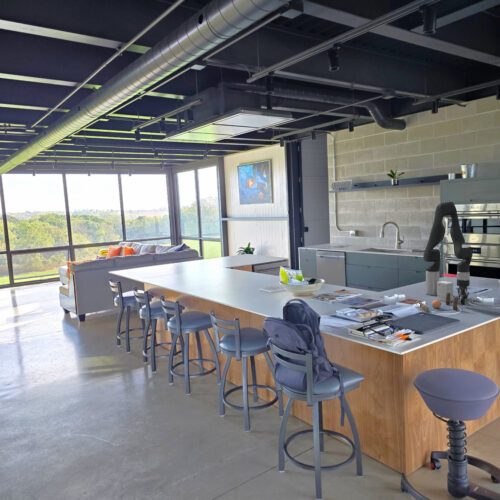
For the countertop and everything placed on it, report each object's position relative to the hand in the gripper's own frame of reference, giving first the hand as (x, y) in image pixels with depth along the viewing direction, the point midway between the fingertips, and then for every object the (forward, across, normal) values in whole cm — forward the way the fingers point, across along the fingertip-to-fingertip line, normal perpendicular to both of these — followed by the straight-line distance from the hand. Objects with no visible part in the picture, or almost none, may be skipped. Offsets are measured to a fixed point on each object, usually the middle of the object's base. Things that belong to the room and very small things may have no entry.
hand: (462, 304), depth 279 cm
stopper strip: (+2, 0, -26) cm, 26 cm away
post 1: (+2, -6, -7) cm, 10 cm away
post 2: (+2, +6, -7) cm, 10 cm away
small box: (+2, -18, -5) cm, 18 cm away
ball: (-1, +2, -17) cm, 17 cm away
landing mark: (+2, 0, -16) cm, 16 cm away
